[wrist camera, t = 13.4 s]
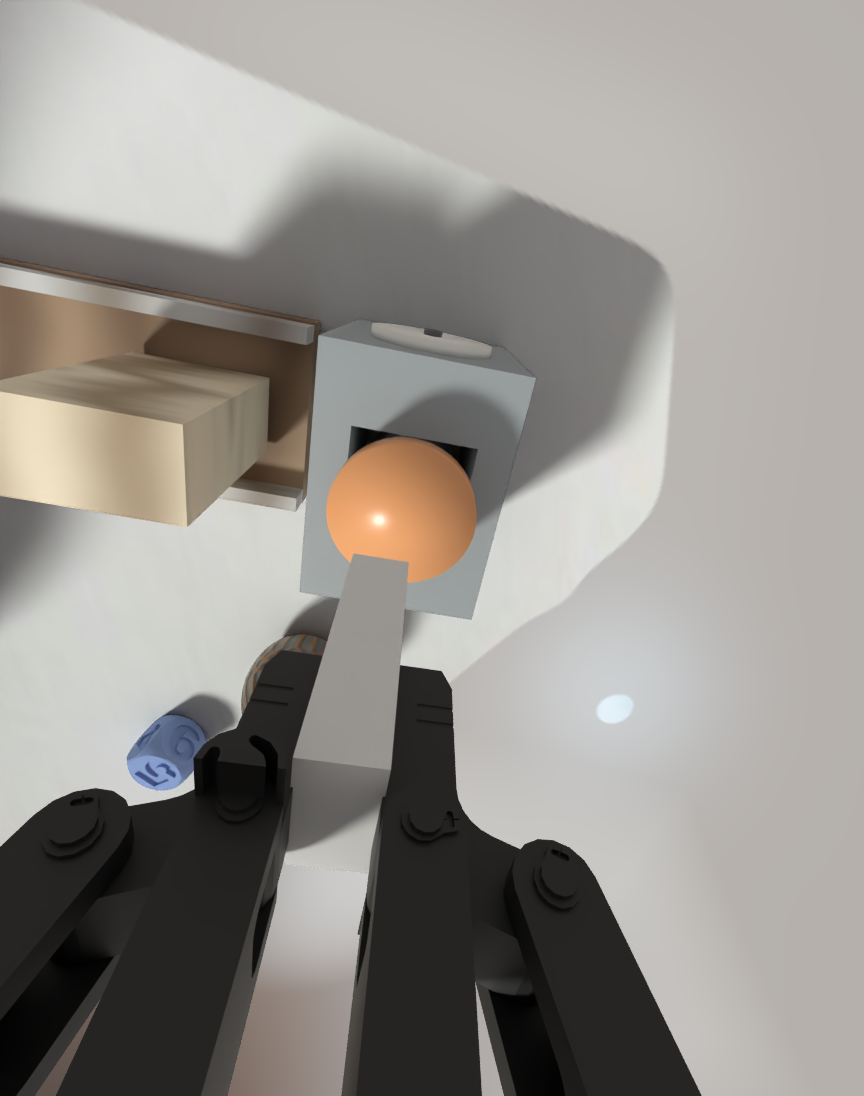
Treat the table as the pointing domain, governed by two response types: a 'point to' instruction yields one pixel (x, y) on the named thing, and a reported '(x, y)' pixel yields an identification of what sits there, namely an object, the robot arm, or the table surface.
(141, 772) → the decorative dice
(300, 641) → the vase
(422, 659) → the table surface
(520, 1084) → the robot arm
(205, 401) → the beige wooden block
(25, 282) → the rail board
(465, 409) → the cabinet
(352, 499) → the plunger
